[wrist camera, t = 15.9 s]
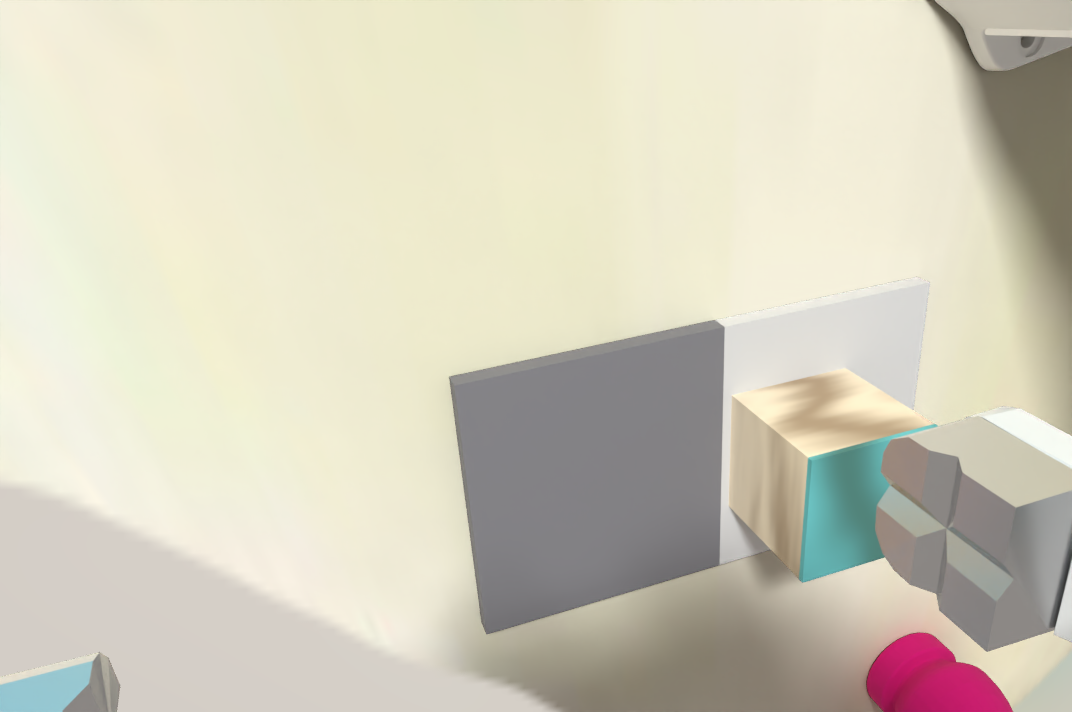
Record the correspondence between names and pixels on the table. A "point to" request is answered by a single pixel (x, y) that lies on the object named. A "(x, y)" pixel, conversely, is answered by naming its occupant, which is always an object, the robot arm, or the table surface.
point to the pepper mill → (930, 680)
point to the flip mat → (645, 445)
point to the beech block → (815, 467)
